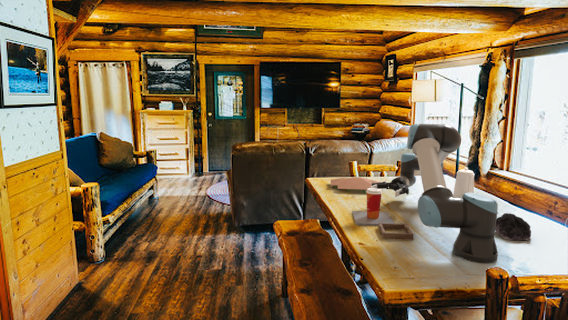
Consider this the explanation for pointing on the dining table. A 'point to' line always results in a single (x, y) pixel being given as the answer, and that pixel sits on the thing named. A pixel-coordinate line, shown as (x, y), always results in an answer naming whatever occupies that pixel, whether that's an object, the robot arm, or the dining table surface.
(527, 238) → the dark brown lumpy mound
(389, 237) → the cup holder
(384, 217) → the slate tile
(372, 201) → the paper cup
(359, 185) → the house
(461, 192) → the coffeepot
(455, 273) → the dining table surface
